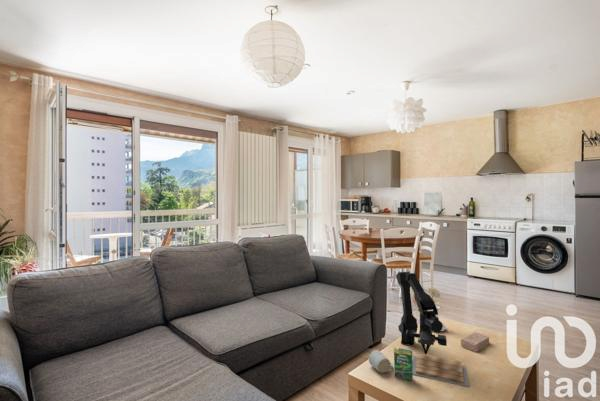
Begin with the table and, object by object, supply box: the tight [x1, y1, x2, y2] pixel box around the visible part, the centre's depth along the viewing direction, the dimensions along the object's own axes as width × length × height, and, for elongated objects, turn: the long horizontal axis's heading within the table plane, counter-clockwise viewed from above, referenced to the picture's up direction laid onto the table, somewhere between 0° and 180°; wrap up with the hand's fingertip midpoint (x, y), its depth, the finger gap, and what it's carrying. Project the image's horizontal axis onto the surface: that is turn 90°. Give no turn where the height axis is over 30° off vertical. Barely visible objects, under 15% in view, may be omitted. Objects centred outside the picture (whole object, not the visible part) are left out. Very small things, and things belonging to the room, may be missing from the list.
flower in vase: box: [427, 286, 447, 332], centre depth 192 cm, size 13×11×25 cm
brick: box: [460, 331, 490, 353], centre depth 171 cm, size 17×8×5 cm, turn 126°
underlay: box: [412, 355, 470, 387], centre depth 148 cm, size 24×17×1 cm
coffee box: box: [393, 346, 414, 382], centre depth 142 cm, size 8×3×13 cm, turn 61°
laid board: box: [416, 363, 464, 384], centre depth 144 cm, size 20×7×1 cm, turn 66°
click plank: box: [416, 353, 463, 372], centre depth 151 cm, size 20×7×1 cm, turn 66°
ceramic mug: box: [368, 349, 394, 374], centre depth 150 cm, size 11×8×8 cm
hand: (425, 354), depth 155 cm, fingers closed
